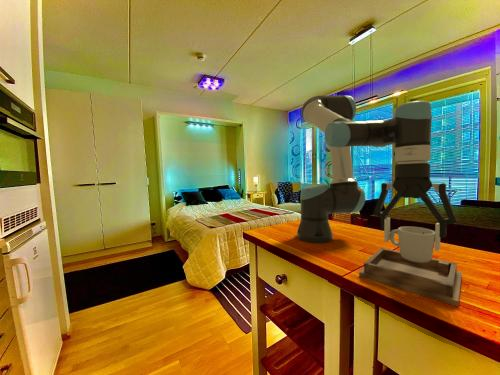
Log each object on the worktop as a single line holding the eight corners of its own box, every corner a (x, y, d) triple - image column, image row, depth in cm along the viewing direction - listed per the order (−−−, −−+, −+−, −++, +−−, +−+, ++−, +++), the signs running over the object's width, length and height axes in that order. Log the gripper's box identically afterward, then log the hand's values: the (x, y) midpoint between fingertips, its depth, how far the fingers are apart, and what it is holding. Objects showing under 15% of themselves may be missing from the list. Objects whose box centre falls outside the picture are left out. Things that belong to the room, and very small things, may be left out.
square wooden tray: (359, 276, 60) (359, 263, 60) (378, 257, 73) (378, 246, 72) (458, 306, 46) (458, 290, 46) (461, 276, 58) (462, 263, 58)
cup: (380, 253, 62) (381, 225, 62) (399, 248, 65) (399, 222, 65) (422, 268, 52) (423, 236, 52) (441, 262, 55) (443, 231, 55)
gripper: (360, 165, 63) (360, 239, 64) (474, 159, 46) (470, 260, 48) (369, 165, 68) (369, 234, 69) (474, 160, 51) (471, 250, 53)
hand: (410, 244), depth 58 cm, fingers closed on cup, 10 cm apart
